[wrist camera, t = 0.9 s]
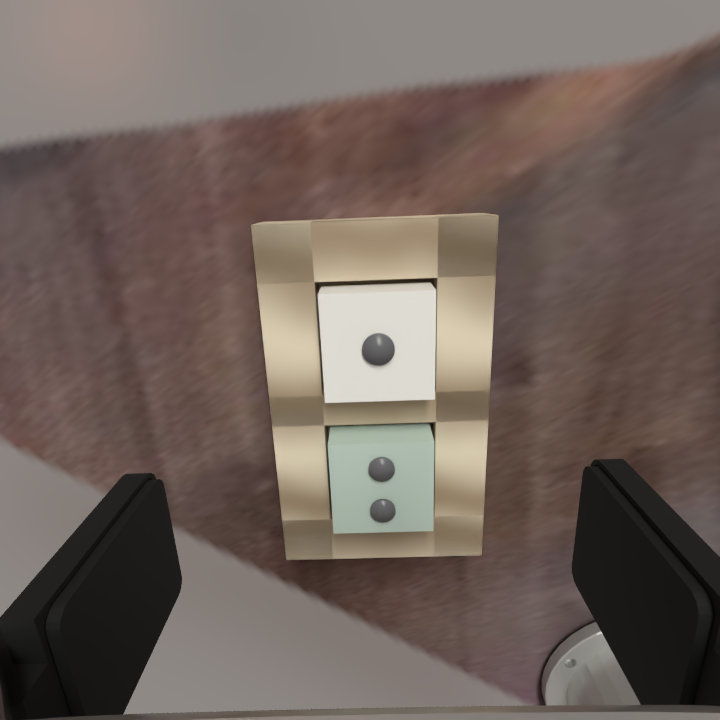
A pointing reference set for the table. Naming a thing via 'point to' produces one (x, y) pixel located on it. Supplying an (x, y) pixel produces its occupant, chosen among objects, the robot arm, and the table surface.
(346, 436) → the two dot tile
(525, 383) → the table surface
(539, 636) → the table surface
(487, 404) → the tile board
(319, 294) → the one dot tile
